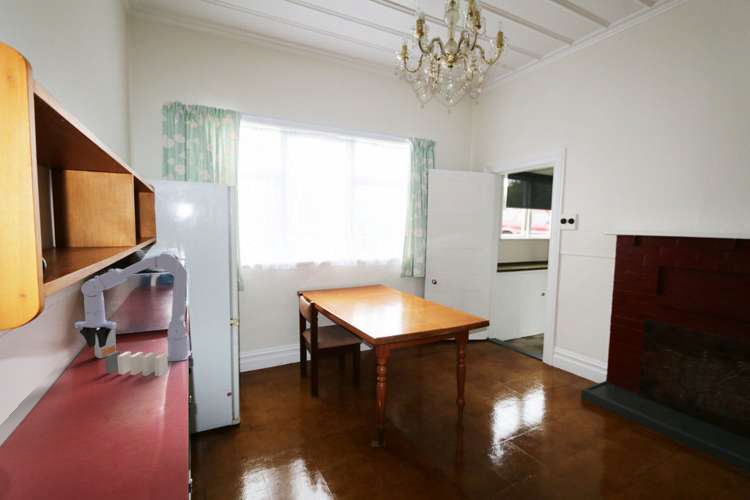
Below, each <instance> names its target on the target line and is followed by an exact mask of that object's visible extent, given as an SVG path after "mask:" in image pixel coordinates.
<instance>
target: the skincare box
mask: <svg viewBox="0 0 750 500" xmlns="http://www.w3.org/2000/svg"><path fill="white" fill-rule="evenodd" d="M98 329H100V328H97V330H98ZM116 341H117V339H116V328H113V329H112V330H111V331H110V333H109V335H108V338H107V341H106V346H104V347H101V348H100V347H99V343H98V337H97V335H96V344H95V346H94V356H96V357H95V358H98V359H103V358H105V355H108V354H110V353H112V352H114V351H117V345H116Z"/></svg>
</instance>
